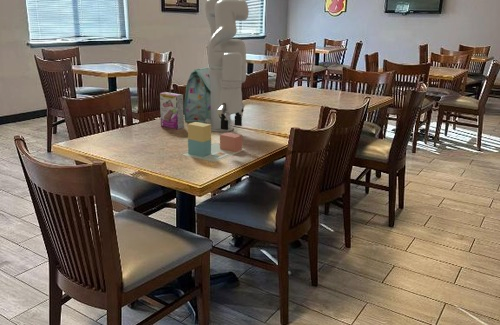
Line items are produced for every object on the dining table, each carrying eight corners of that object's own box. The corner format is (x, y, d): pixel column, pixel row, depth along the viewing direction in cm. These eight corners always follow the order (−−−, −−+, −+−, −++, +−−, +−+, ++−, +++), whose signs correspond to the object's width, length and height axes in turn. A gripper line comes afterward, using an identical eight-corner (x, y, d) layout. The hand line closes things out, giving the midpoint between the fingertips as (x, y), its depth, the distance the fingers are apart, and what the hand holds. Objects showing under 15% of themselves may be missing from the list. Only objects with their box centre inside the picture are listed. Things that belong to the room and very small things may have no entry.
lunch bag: (210, 125, 231) (210, 70, 223) (181, 121, 236) (180, 68, 228) (228, 116, 251) (228, 66, 243) (200, 113, 257) (200, 64, 248)
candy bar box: (160, 126, 225) (158, 93, 220) (167, 124, 229) (166, 91, 224) (177, 130, 219) (176, 95, 214) (184, 128, 223) (183, 94, 218)
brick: (219, 148, 189) (220, 134, 187) (226, 146, 193) (227, 132, 191) (235, 152, 185) (235, 137, 184) (241, 149, 189) (242, 135, 188)
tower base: (188, 153, 182) (187, 124, 178) (196, 150, 186) (195, 121, 182) (203, 157, 178) (203, 126, 174) (211, 154, 182) (211, 124, 178)
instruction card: (207, 155, 180) (207, 155, 180) (216, 152, 185) (216, 151, 185) (220, 158, 177) (220, 157, 177) (229, 154, 182) (229, 154, 182)
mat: (181, 155, 180) (181, 154, 180) (215, 143, 198) (215, 142, 198) (214, 163, 172) (214, 162, 172) (246, 149, 190) (246, 149, 190)
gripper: (236, 82, 190) (235, 123, 195) (210, 86, 176) (211, 129, 181) (251, 83, 186) (250, 125, 191) (227, 87, 172) (226, 132, 177)
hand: (231, 127), depth 186 cm, fingers open, 9 cm apart
